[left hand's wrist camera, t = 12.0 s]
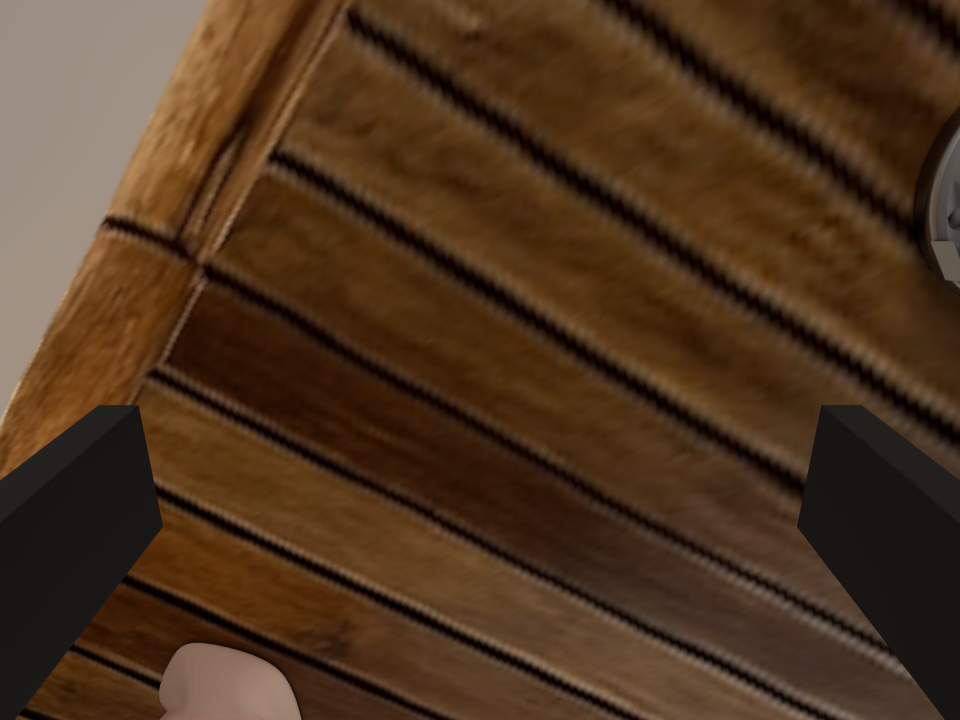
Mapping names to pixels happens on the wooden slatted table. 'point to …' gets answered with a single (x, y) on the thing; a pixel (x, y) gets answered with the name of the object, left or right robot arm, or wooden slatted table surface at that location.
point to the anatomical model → (224, 686)
